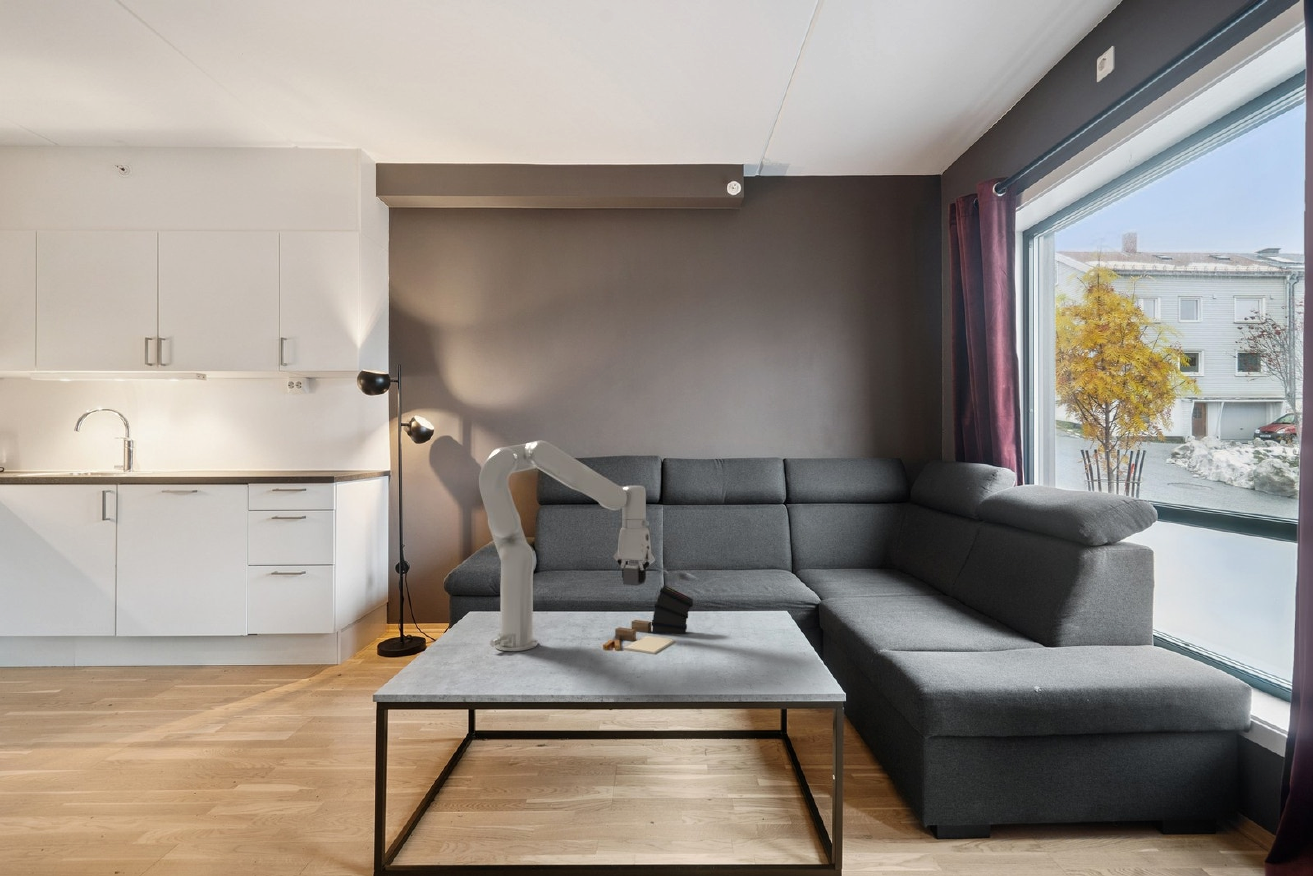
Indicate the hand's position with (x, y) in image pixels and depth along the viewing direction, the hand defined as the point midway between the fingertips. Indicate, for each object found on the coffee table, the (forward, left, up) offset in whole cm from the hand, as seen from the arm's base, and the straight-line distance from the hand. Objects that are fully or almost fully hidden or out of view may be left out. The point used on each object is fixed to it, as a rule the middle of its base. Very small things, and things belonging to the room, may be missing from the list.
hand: (633, 580), depth 207 cm
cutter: (-12, 0, -17) cm, 21 cm away
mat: (-8, -10, -17) cm, 21 cm away
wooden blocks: (0, 0, -17) cm, 17 cm away
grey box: (0, 0, -1) cm, 1 cm away
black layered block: (+8, -10, -18) cm, 22 cm away
